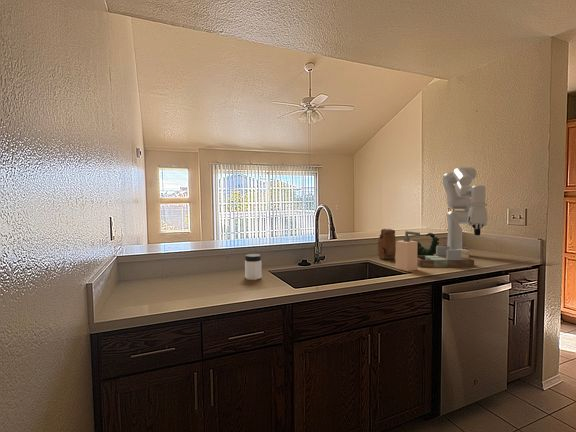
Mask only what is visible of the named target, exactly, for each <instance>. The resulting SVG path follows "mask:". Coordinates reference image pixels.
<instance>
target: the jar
mask: <svg viewBox="0 0 576 432" xmlns="http://www.w3.org/2000/svg"><path fill="white" fill-rule="evenodd" d="M262 263H263V262H262V255H261V254H260V253H249V254H245V255H244V277H245V279H246V280H247V281H248V280H251V281H256V280H260V279H262V278H263V277H262V275H263V273H262V269H263V268H262V267H263V266H262Z"/></svg>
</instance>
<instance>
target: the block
mask: <svg viewBox="0 0 576 432" xmlns="http://www.w3.org/2000/svg"><path fill="white" fill-rule="evenodd" d="M396 241H397V240H396V231H395V230H394V229H391V228H382V229H380V235H379V236H378V241H377V253H378V254H377V255H378V257H379V259H380V260H393V259H396Z"/></svg>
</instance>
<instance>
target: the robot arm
mask: <svg viewBox="0 0 576 432" xmlns="http://www.w3.org/2000/svg"><path fill="white" fill-rule="evenodd" d="M477 175H478V174H477V170H476V168H474V167H471V166H470V167H469V166H465V167H463V166H460V167H457V168H456V167H455V168H454V170H452V172H446V173H444V174H443V175H442V184H443V185H442V186H443V187H444V190H445V192H446V193H445V194H446V202H447V207H448V208H449V209H450V210H449V211H448V212H447V213H446V220H447V245H446V246H450V250H457V249H463V228H462V227H461V225H462V224H465V225H466V224H467V225H468V226H470V227H472V228H473V234H474V236H481V230H482V228H483V227H485V226H487V224H488V211H487V208H486V207H487V206H488V204H487V203H486V186H485V185H482V184H477V185H471V184H472V182H473V180H475V179H476V177H477ZM460 224H461V225H460Z"/></svg>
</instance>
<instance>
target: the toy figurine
mask: <svg viewBox="0 0 576 432" xmlns="http://www.w3.org/2000/svg"><path fill="white" fill-rule="evenodd" d="M425 236H426V237H428V236H429V237H430V238H432V239H431V240H432V241H431V242H430V243H431V244H430V246H429V247H430V248H425V247H424V246H422V244H421V243H420V241H417V240H416V241H417V242H418V246H417V256H435V255H436V246H438V245H439V244H440V242H439V241H440V238H438V237H436V236H435V234H434V233H432V232H428V233H427V234H426V235H425Z"/></svg>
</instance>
